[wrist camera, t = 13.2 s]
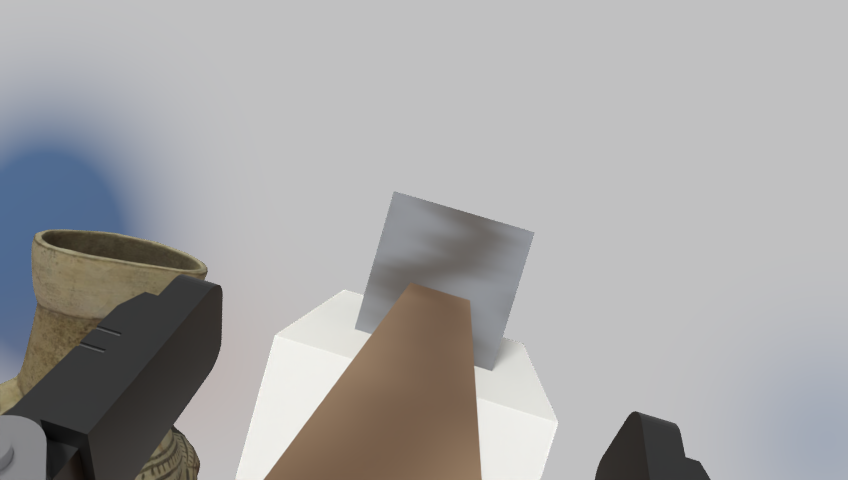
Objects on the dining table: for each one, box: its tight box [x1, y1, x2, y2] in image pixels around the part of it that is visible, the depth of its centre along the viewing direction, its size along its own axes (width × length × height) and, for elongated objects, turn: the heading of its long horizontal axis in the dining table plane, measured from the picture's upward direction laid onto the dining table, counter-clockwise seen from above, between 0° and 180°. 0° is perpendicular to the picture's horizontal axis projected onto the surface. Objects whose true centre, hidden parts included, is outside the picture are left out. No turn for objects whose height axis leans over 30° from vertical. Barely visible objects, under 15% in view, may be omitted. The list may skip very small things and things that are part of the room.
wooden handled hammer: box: [264, 192, 534, 480], centre depth 21 cm, size 7×28×7 cm, turn 176°
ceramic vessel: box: [0, 230, 208, 480], centre depth 44 cm, size 19×21×30 cm
